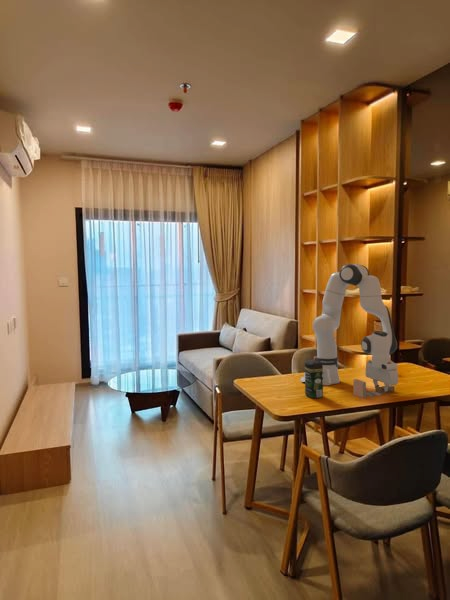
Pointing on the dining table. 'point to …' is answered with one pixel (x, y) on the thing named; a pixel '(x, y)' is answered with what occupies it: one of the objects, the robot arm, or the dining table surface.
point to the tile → (359, 388)
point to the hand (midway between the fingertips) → (381, 389)
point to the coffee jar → (313, 379)
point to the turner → (380, 391)
